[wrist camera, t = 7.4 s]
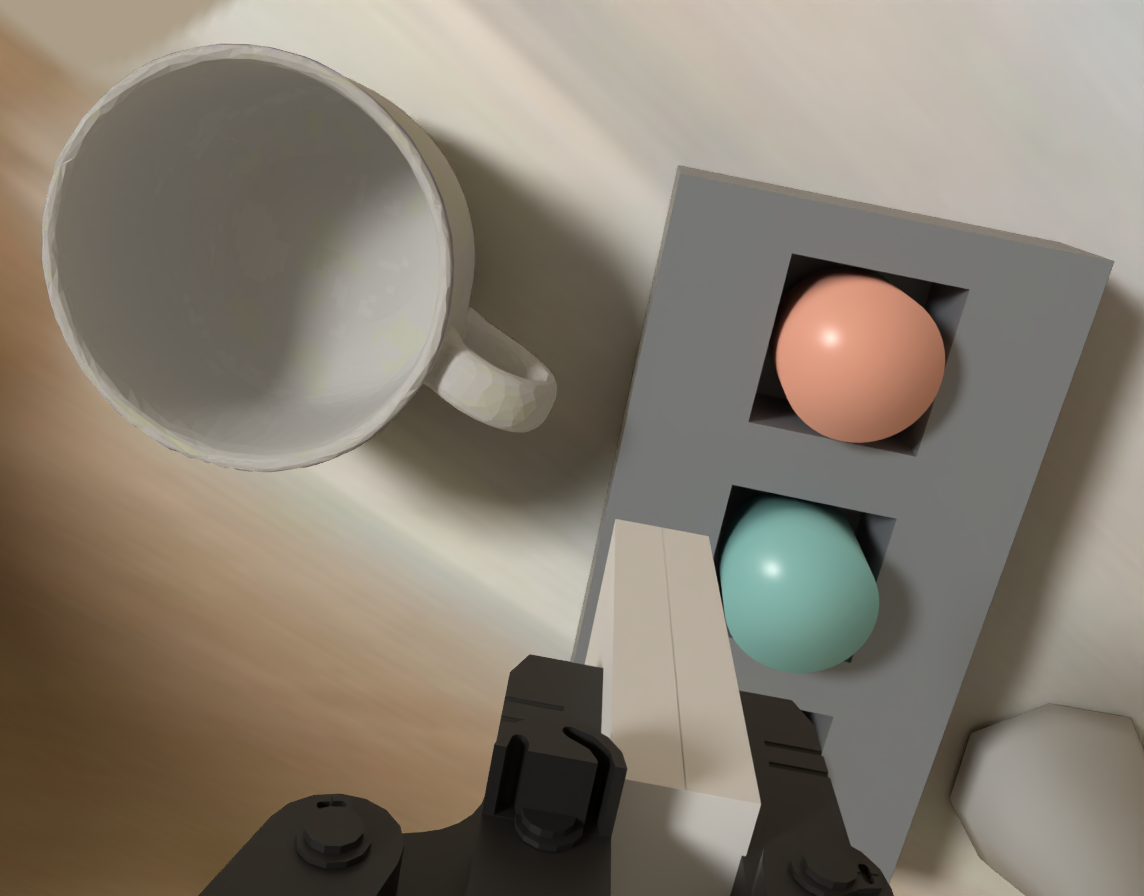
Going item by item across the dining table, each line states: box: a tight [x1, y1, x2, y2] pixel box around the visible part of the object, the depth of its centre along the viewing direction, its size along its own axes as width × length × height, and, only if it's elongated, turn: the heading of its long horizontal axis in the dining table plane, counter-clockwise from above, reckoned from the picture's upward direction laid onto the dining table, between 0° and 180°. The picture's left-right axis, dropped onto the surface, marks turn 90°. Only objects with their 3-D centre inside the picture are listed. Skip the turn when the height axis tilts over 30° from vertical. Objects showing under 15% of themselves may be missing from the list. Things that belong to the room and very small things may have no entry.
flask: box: [950, 704, 1144, 896], centre depth 33 cm, size 7×7×10 cm
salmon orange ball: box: [769, 267, 945, 443], centre depth 30 cm, size 4×4×4 cm
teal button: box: [718, 492, 879, 673], centre depth 32 cm, size 4×4×4 cm
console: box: [571, 165, 1114, 884], centre depth 34 cm, size 12×22×4 cm, turn 169°
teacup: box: [42, 44, 557, 472], centre depth 30 cm, size 14×11×8 cm
